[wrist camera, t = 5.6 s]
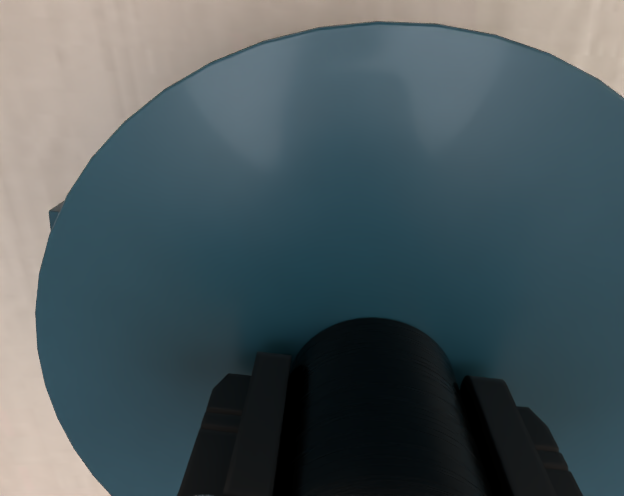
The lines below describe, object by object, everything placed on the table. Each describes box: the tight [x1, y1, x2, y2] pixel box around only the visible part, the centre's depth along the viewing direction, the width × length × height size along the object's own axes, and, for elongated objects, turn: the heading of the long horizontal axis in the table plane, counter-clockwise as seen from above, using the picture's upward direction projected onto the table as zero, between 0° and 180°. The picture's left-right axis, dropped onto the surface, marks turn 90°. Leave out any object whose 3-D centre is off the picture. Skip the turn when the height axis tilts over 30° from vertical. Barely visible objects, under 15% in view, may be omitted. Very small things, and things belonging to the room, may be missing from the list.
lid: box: [35, 21, 624, 496], centre depth 10 cm, size 15×15×6 cm
